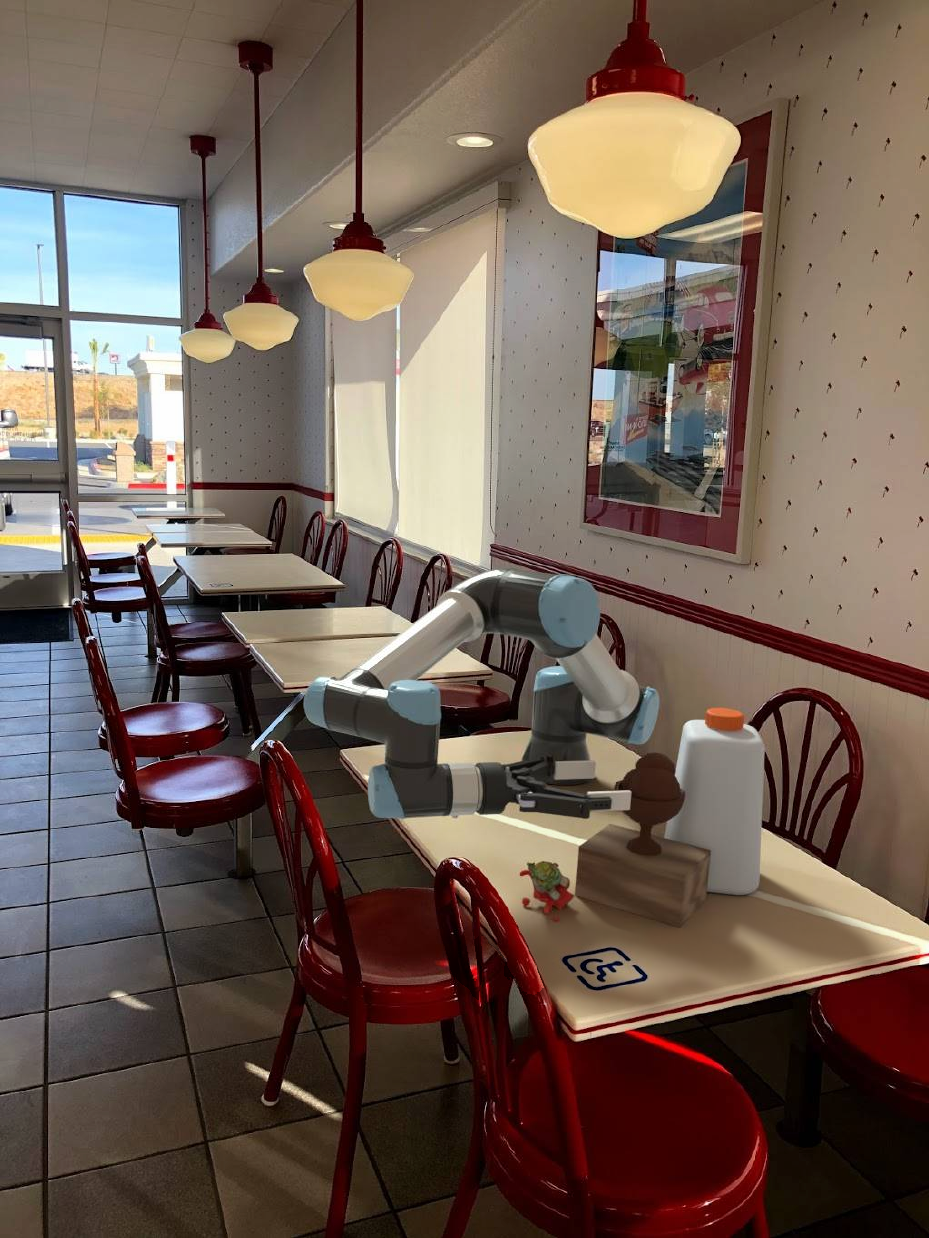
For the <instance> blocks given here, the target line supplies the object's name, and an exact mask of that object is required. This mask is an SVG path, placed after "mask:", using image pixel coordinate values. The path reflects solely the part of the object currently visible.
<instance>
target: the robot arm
mask: <svg viewBox="0 0 929 1238" xmlns="http://www.w3.org/2000/svg"><path fill="white" fill-rule="evenodd" d="M599 604H600V600H599V596H598V593H597V591H596V589H595V588H594V586H593V585H592V584H591V583H590V582H589V581H587V580H586V579H583V578H580V577H576V576H575V575H570V574H565V573H563V574H555V573H548V572H547V573H546V572H540V571H533V570H527V569H526V570H524V569H517V568H513V567H501V568H494V569H489V570H486V571H483V572H480V573H478V574H475V575H473V576H471V577H468V578H467V579H464V580H463V581H461V582H459V583H457V584H455V585H454V586H453V587H450V588H449V589H448V590H446V591H444V593H442V594H441V595H440V596H439V598H438V600H437V601H436V605H435V607H434V608H432V609H431V610H430V611H428V612H427V613H425V614H424V615H423V616H421V618H419V619H417V620H416V621H414V622H413V623H412V624H411V625H410V626H408V627H407V628H405V629H404V630H402V631H401V632H400V633H399V634H398V635H396V636H395V637H393V638H392V639H390V640H389V641H388V642H387V643H386V644H384V645H383V646H381V647H380V648H379V649H377V650H376V651H375V652H373V653H372V654H371V655H370V656H368V657H367V658H366V659H364V660H363V661H362V662H360V663H358V665H356V666H355V667H353V668H352V669H350V671H348V672H347V673H345V674H344V675H343V676H342V677H339V678H336V677H335V676H321V677H317V678H315V679H314V680H313V681H311V683H310V684H309V685H308V687H307V688H306V691H305V693H304V694H305V695H304V698H303V709H304V714H305V715H306V718H307V719H308V720H309V722H311V723H312V724H314V725H316V726H319V727H322V728H324V729H327V730H328V731H333V732H334V731H335V732H338V733H343V734H346V735H351V736H355V737H358V738H362V739H366V740H370V741H375V742H376V743H377V742H378V743H381V744H384V747H385V753H384V763H381V764H378V765H374V766H372V767H371V768H369V769H370V770H369V773H368V780H367V797H368V805H369V809H370V811H371V814H372V815H374V817H376V818H379V819H401V820H405V819H413V818H415V819H416V818H427V817H428V818H430V817H449V816H450V817H451V818H453V819H458V817H459V816H473V815H475V814H478V815H479V816H487V815H501V814H503V812H504V811H505V810H506V807H507V806H508V804H509V803H512V804H516V805H519V807H518V808H519V810H518V811H519V812H521V813H539V814H546V815H555V816H562V817H570V818H577V819H583V820H588V819H590V816H591V813H593V812H612V811H613V812H615V811H622V810H630V802H631V791H630V790H623V791H614V790H604V791H603V790H602V791H601V790H599V791H586V794H584V793H579V792H575V791H570V790H565V789H561V788H556V787H551V786H548V785H559V786H569V785H570V786H574V785H579V784H584V783H586V782H588V781H590V780H591V779H595V776H596V775H595V774H596V764H597V761H595V760H591V756H590V752H589V747H588V744H587V734H590V735H594V736H599V737H603V738H607V739H612V740H617V741H620V742H624V743H625V742H626V743H627V744H635V745H643V744H645V743H646V742H647V741H648V740H649V739H650V737H651V735H652V733H653V732H654V728H655V725H656V722H657V719H658V713H659V708H660V696H659V692H658V690H657V689H655V688H652V687H650V686H643V685H640V684H639V683H638V682H637V680H636V678H635V677H634V676H632V674H631V673H629V672H628V671H625V670H624V669H620V668H619V667H618V665H617V663H616V662H615V660H614V659H613V657H612V656H611V654H610V653H609V651H608V650H607V648H606V646H605V645H604V643H603V642H602V640H601V639H600V637H599V636H598V634H597V632H598V628H599V625H600V619H601V607H599ZM485 634H499V635H504V636H509V637H515V638H519V639H525V640H528V641H530V642H531V643H532V644H533V645H534V646H535V648H536V649H537V650H538V651H539V652H540V653H541V654H542V655H544V656H546V657H548V658H549V659H556V662H558V664H559V665H556V666H555V665H554V666H549V667H544V668H542V669H540V670H539V671H538V672H537V673H536V675H535V680H534V687H533V697H532V698H533V699H532V700H533V701H532V716H531V717H532V718H531V731H530V732H531V733H530V738H529V739H528V742H527V745H526V747H525V750H524V753H523V755H522V758H521V759H520V760H521V761H516V762H512V763H506V764H505V763H504V764H501V763H500V762H499V761H498V762H497V761H491V762H489V761H488V762H487V761H486V762H477V763H476V764H474V763H473V762H449V763H447V762H446V763H438V761H439V759H438V757H439V745H440V732H441V731H440V728H441V719H442V711H441V691H440V689H439V688H438V686H437V685H435V684H434V683H431V682H429V681H427V680H418V679H420V678H421V677H422V676H423V675H425V674H426V673H427V672H429V670H431V669H432V668H433V667H434V666H436V665H437V664H439V663H440V662H441V661H442V660H443V659H444V658H446V657H447V656H448V655H449V654H451V653H452V652H453V651H454V650H456V649H457V648H458V647H459V646H461V645H462V644H463V643H465V642H466V643H470V642H473V641H476V640H478V638H480V637H481V636H482V635H485ZM547 784H548V785H547Z"/></svg>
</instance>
